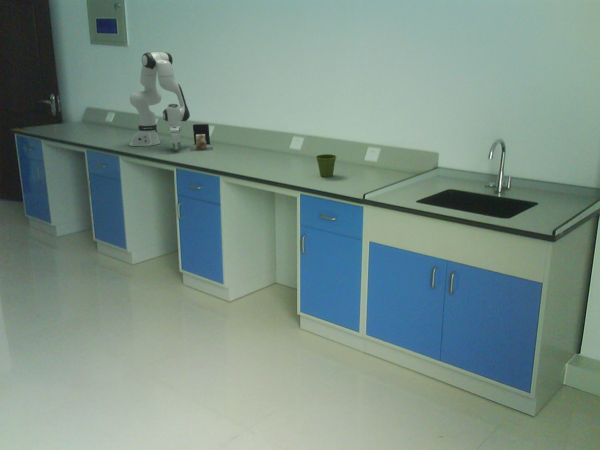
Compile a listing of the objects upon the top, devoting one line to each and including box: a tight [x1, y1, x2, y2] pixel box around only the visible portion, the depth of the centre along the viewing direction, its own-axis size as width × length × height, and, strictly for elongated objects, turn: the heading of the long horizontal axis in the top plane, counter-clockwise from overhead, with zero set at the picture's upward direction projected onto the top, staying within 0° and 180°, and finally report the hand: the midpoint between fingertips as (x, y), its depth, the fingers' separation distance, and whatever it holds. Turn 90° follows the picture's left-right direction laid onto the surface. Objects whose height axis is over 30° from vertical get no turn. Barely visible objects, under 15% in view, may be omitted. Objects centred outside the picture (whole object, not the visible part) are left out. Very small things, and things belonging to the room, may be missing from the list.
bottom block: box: [195, 141, 208, 150], centre depth 423 cm, size 7×7×5 cm
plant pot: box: [315, 153, 337, 178], centre depth 340 cm, size 12×12×11 cm
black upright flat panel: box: [192, 123, 211, 146], centre depth 440 cm, size 11×4×15 cm, turn 84°
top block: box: [196, 134, 205, 143], centre depth 421 cm, size 6×6×5 cm
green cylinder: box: [171, 141, 182, 152], centre depth 421 cm, size 6×6×6 cm
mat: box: [189, 146, 214, 152], centre depth 424 cm, size 16×12×1 cm
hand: (177, 147), depth 421 cm, fingers open, 7 cm apart
